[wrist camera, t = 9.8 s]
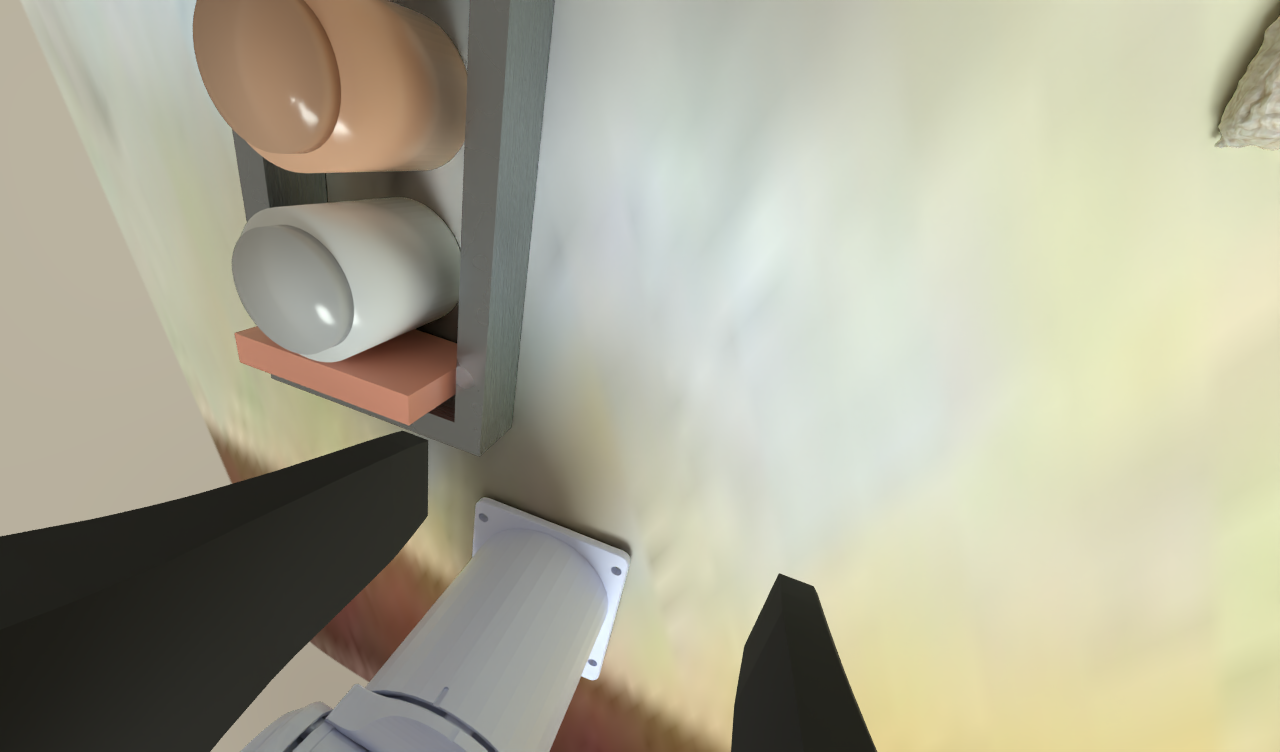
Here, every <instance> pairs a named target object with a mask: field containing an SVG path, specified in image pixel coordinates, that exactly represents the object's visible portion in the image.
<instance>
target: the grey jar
mask: <svg viewBox="0 0 1280 752" xmlns="http://www.w3.org/2000/svg"><path fill="white" fill-rule="evenodd" d="M460 259H461V252H460V249H459V246H458V244H457V242H456V240H455V238H454V236H453V234H452V232H451V231H450V229H449V228H448V226H447V225H446V224H445V222H444V221H443V220H442V219H441V218H440V217H439V216H438V215H437V214H436V213H435V212H434V211H432V210H431V209H430V208H428V207H427V206H425V205H424V204H422V203H420V202H418V201H415V200H412V199H409V198H404V197H390V198H378V199H366V200H355V201H343V202H331V203H319V204H307V205H295V206H283V207H273V208H267V209H264V210H261V211H259V212H258V213H256V214H254V215H253V216H252V217H251V218H250V219H249V220H248V222H247V223H246V225H245V227H244V229H243V231H242V233H241V237H240V238H239V240H238V241H237V243H236V245H235V247H234V251H233V257H232V272H233V278H234V283H235V286H236V289H237V292H238V295H239V297H240V300H241V302H242V304H243V306H244V308H245V309H246V311H247V313H248V314H249V316H250V317H251V319H252V320H253V321H254V323H255V324H256V325H257V326H258V327H259V329H260V330H261V331H262V332H263V333H264V334H265V335H266V336H268V337H269V338H270V339H271V340H272V341H274V342H275V343H276V344H278V345H279V346H281V347H283V348H285V349H287V350H289V351H291V352H294V353H298V354H300V355H302V356H304V357H307V358H309V359H312V360H315V361H320V362H337V361H341V360H344V359H346V358H349V357H351V356H353V355H356V354H358V353H360V352H363V351H365V350H367V349H369V348H372V347H374V346H376V345H379V344H381V343H383V342H386V341H388V340H390V339H393V338H395V337H397V336H399V335H402V334H404V333H406V332H409V331H411V330H413V329H416V328H418V327H420V326H423V325H425V324H427V323H430V322H432V321H434V320H436V319H439V318H441V317H443V316H445V315H446V314H448V313H449V312H450V311H451V310H452V309H453V308H454V307H455V306H456V304H457V302H458V301H459V286H460Z"/></svg>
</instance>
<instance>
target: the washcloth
mask: <svg viewBox="0 0 1280 752" xmlns="http://www.w3.org/2000/svg"><path fill="white" fill-rule="evenodd" d="M1218 128H1219V129H1220V133H1221V134H1222V137H1221V139H1220V140H1219V141H1218V142H1217V143H1216V144H1215V147H1220V148H1221V147H1236V148H1240V147H1245V146H1257V147H1259V148H1262V149H1267V150H1278V149H1280V15H1279V17H1278V18H1277V20H1276V21H1275V22H1273V23H1272V24H1271V25H1270V26H1269V27H1268V28H1267V29H1266V30H1265V35H1264V40H1263V44H1262V46H1261V47H1260V49H1259V51H1258V53H1257V54H1256V56H1255V57H1254V58H1253V59H1252V61H1251V62H1250V63H1249V65H1248V66H1247V71H1246V73H1245V74H1244V76H1243V77H1242V78H1241V80H1240V81H1239V83H1238V86H1237V89H1236V91H1235V93H1234V95H1233V97H1232V99H1231V100H1230V101H1229V103H1228V104H1227V106H1226V108H1225V110H1224V113H1223V116H1222V118H1221V123H1220V124H1219V126H1218Z"/></svg>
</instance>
